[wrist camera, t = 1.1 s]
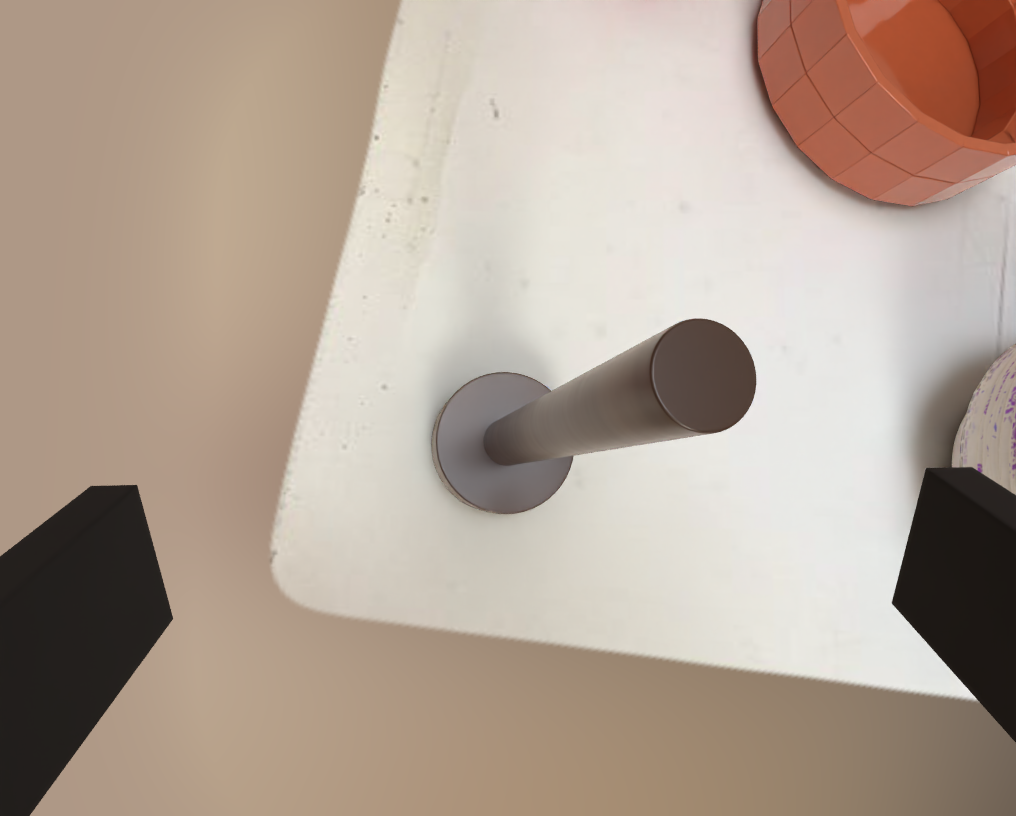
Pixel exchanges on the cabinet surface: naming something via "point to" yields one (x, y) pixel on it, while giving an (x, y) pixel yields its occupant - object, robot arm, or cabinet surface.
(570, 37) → the cabinet surface
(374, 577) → the cabinet surface
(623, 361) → the dowel on disc base
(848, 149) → the bowl
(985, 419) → the paper bowls
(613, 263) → the cabinet surface
